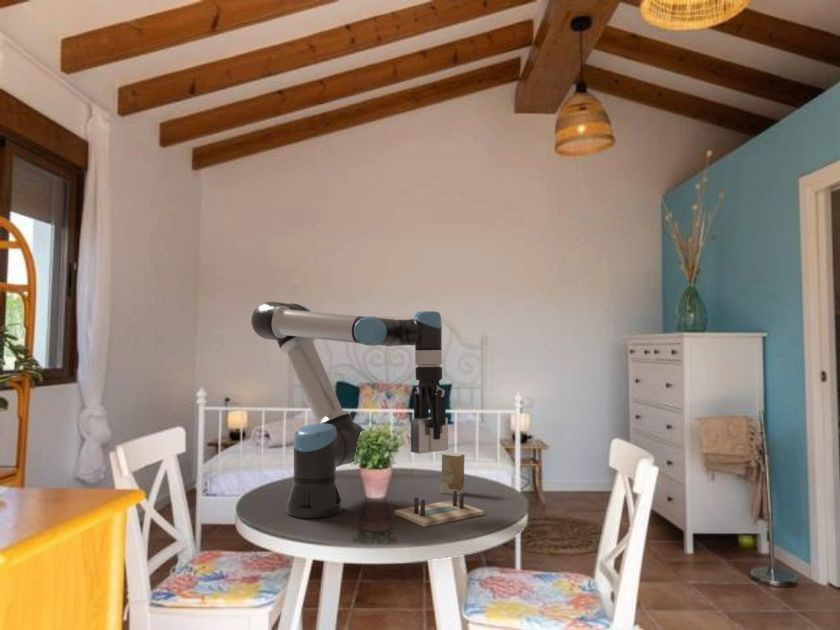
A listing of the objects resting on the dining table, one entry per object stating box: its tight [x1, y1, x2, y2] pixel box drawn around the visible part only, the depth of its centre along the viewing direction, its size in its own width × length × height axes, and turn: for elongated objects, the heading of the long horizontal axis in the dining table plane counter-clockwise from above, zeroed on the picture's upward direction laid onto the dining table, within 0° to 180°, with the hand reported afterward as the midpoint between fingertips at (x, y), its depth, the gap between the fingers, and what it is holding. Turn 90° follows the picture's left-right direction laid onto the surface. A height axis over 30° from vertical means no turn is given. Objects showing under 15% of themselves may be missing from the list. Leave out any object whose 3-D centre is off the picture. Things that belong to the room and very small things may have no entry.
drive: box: [410, 416, 449, 455], centre depth 166 cm, size 10×4×9 cm, turn 125°
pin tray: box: [394, 491, 485, 528], centre depth 163 cm, size 20×14×5 cm
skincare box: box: [440, 452, 466, 496], centre depth 187 cm, size 6×4×12 cm
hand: (429, 449), depth 166 cm, fingers closed on drive, 4 cm apart
